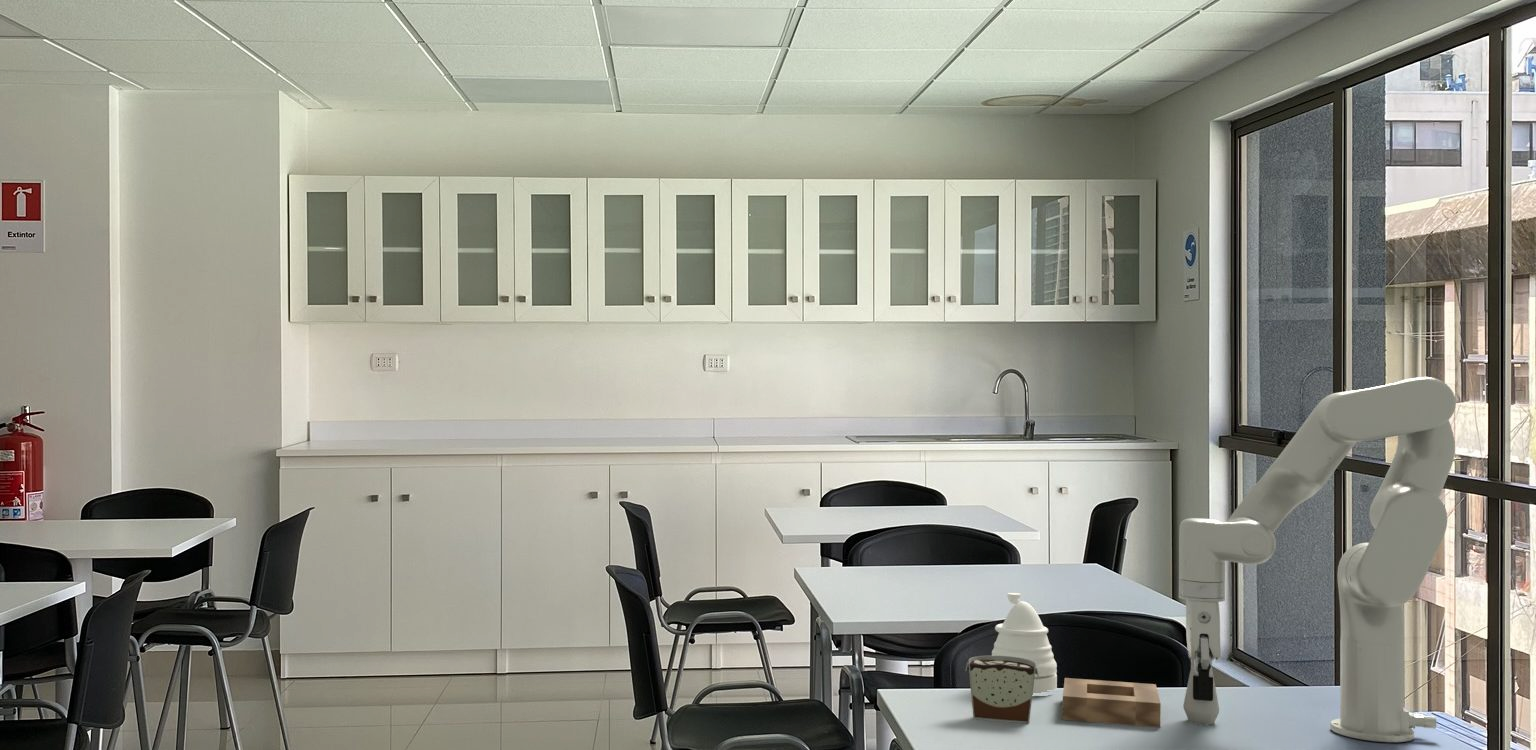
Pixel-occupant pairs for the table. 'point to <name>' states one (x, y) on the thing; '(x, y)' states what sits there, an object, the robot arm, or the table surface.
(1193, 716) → the salt shaker
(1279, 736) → the table surface
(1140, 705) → the brown wooden square frame
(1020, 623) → the honey pot
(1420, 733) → the table surface
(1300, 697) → the table surface
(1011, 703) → the food container
